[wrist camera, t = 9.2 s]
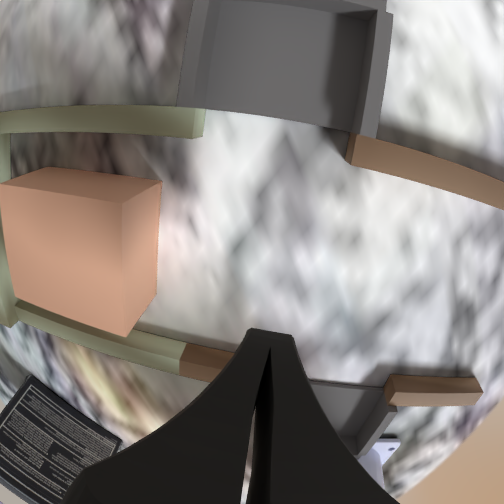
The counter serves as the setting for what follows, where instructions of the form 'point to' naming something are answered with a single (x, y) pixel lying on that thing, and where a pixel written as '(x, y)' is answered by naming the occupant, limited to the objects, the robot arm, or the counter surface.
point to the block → (83, 244)
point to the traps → (298, 108)
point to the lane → (191, 126)
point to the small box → (47, 444)
